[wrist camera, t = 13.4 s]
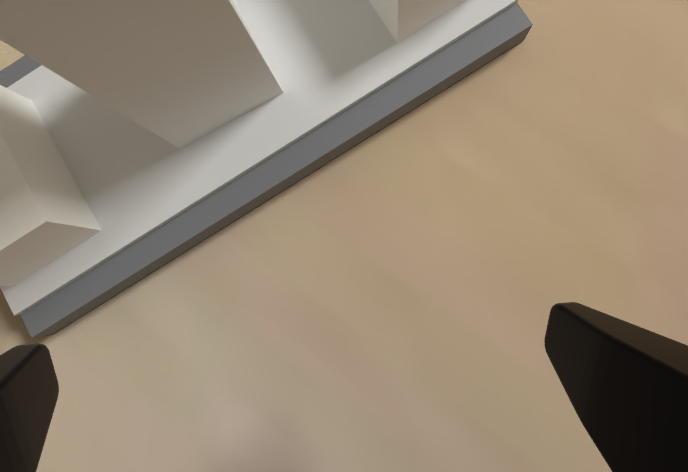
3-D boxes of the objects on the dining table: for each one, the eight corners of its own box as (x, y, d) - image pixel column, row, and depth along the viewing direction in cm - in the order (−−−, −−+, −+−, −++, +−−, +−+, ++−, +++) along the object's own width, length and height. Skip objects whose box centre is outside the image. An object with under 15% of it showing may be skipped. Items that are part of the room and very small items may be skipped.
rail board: (524, 40, 19) (563, -32, 15) (52, 334, 20) (-44, 350, 16) (387, -155, 21) (385, -275, 16) (-52, 130, 21) (-169, 91, 17)
